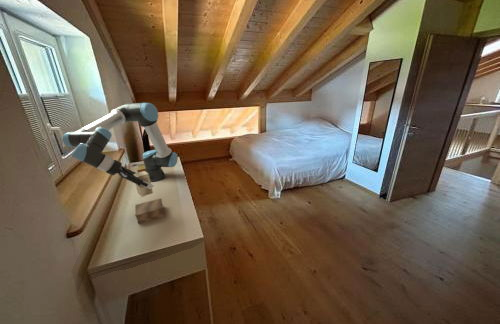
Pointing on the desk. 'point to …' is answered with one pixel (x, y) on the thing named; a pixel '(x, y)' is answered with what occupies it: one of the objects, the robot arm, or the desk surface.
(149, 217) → the walnut box
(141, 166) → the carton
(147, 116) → the robot arm
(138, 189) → the oak block
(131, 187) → the desk surface
